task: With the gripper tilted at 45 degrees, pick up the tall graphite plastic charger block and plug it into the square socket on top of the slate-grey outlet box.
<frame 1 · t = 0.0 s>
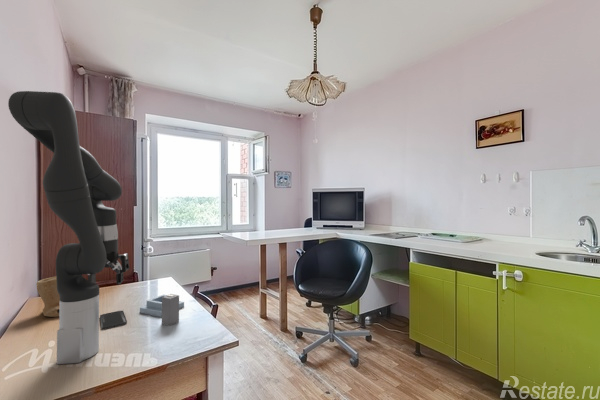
hand: (106, 284, 94), 17 cm above the table, tool pointing down, fingers open, 8 cm apart
charger: (170, 322, 103), on the table
phone: (112, 321, 105), on the table
outlet box: (162, 309, 115), on the table
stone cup: (55, 313, 112), on the table
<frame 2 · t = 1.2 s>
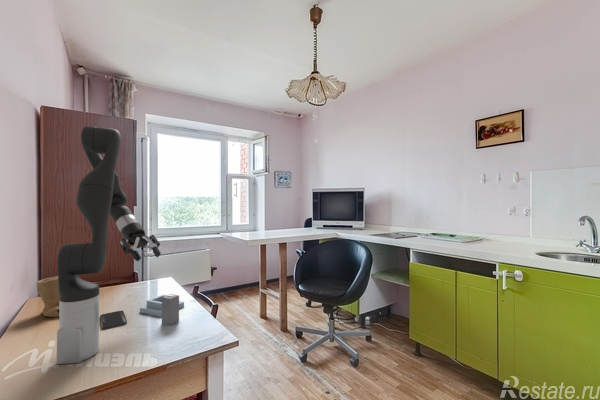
hand: (149, 257, 108), 24 cm above the table, tool tilted 45°, fingers open, 8 cm apart
nothing on the table moved.
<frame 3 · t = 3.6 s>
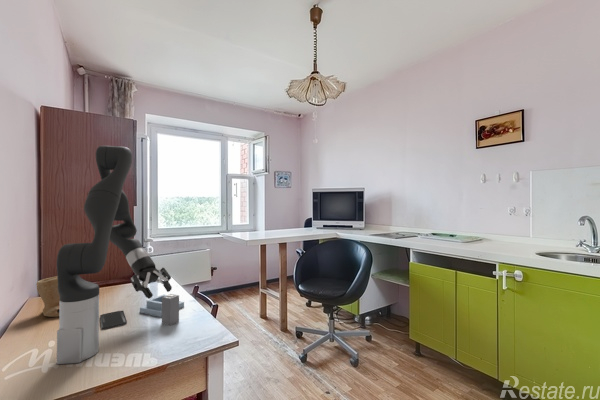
hand: (160, 293, 105), 10 cm above the table, tool tilted 45°, fingers open, 8 cm apart
nothing on the table moved.
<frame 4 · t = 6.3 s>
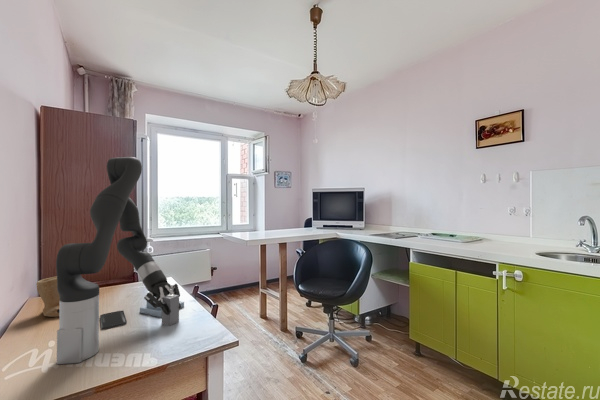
hand: (174, 311, 102), 5 cm above the table, tool tilted 45°, fingers closed on charger, 4 cm apart
charger: (170, 322, 103), on the table, touching gripper
everything else where it was.
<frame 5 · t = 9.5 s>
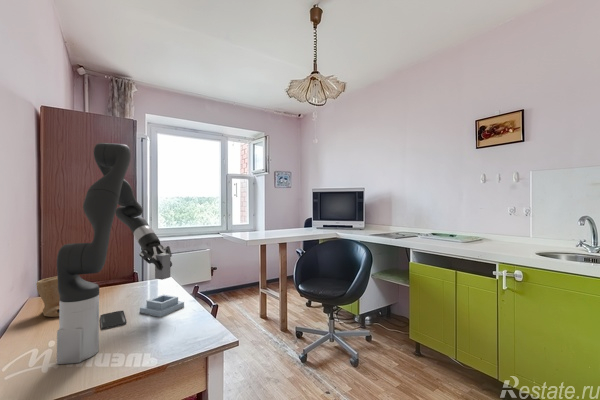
hand: (166, 267, 115), 18 cm above the table, tool tilted 45°, fingers closed on charger, 4 cm apart
charger: (162, 277, 116), point 13 cm above the table, touching gripper
everything else where it was.
when the fingers open (7 cm above the table, at t = 12.7 s): charger stays where it is, resting on outlet box.
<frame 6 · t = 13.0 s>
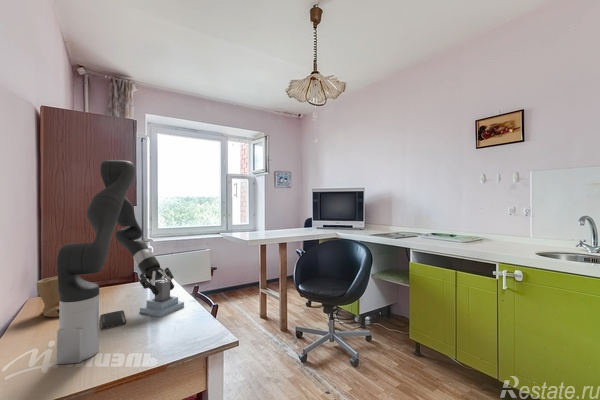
hand: (165, 291, 115), 8 cm above the table, tool tilted 45°, fingers open, 7 cm apart
charger: (162, 304, 115), point 2 cm above the table, touching outlet box
everything else where it was.
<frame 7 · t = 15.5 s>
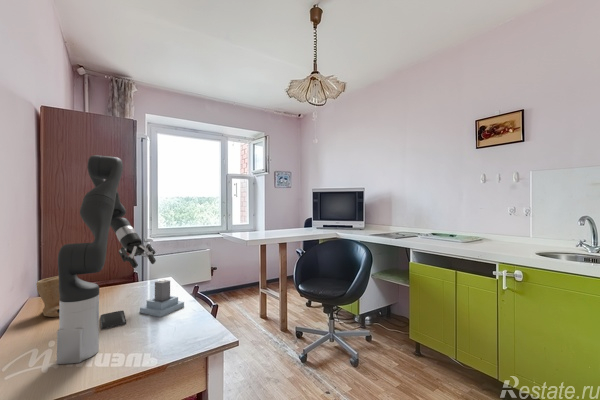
hand: (145, 264, 120), 18 cm above the table, tool tilted 45°, fingers open, 8 cm apart
nothing on the table moved.
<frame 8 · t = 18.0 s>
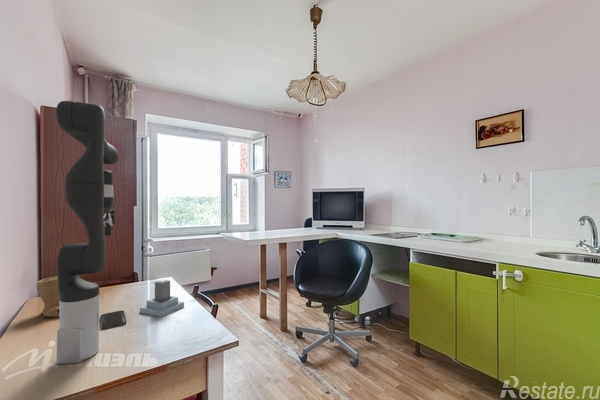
hand: (101, 236, 108), 32 cm above the table, tool pointing down, fingers open, 8 cm apart
nothing on the table moved.
at the end: charger 0.1 cm off-centre on the outlet box, point 2.0 cm above the outlet box's base; charger tilted 0°; the gripper is holding nothing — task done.
